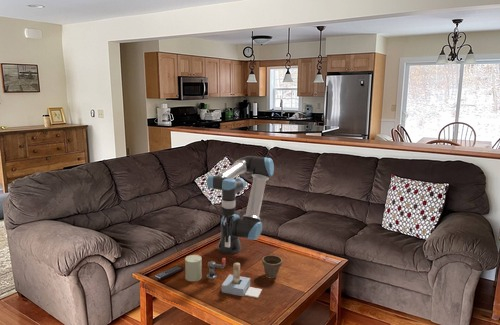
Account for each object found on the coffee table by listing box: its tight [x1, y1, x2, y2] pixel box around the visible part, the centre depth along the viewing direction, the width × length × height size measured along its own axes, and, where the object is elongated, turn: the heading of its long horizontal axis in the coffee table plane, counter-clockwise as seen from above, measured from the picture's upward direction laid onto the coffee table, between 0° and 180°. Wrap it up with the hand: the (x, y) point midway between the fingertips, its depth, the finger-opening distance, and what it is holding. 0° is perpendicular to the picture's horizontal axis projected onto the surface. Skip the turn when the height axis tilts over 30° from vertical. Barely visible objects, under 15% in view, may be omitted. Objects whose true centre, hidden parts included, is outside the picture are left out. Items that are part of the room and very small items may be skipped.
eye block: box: [221, 273, 251, 297], centre depth 199 cm, size 12×12×4 cm
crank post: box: [205, 267, 218, 280], centre depth 210 cm, size 6×6×6 cm
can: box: [184, 254, 203, 282], centre depth 208 cm, size 9×9×12 cm
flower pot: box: [261, 254, 283, 279], centre depth 213 cm, size 12×11×10 cm
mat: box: [244, 286, 263, 299], centre depth 196 cm, size 8×7×1 cm
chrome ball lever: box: [207, 257, 226, 269], centre depth 208 cm, size 4×10×6 cm, turn 73°
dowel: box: [232, 262, 241, 285], centre depth 198 cm, size 4×4×14 cm
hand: (227, 246), depth 211 cm, fingers closed
